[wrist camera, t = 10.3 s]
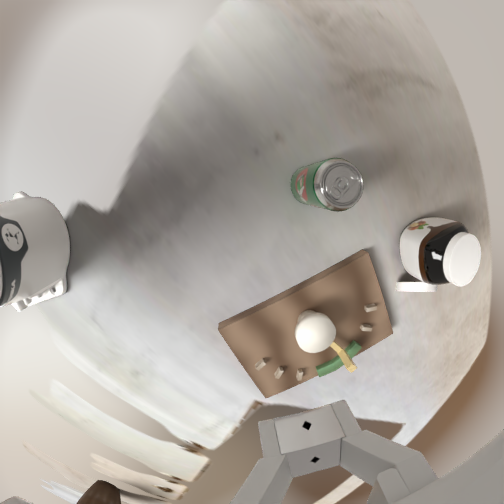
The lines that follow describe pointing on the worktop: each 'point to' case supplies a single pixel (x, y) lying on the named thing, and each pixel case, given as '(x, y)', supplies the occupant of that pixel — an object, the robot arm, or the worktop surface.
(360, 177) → the soda can
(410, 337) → the worktop surface
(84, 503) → the plant pot
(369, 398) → the worktop surface
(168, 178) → the worktop surface
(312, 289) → the gauge board
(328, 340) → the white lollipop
